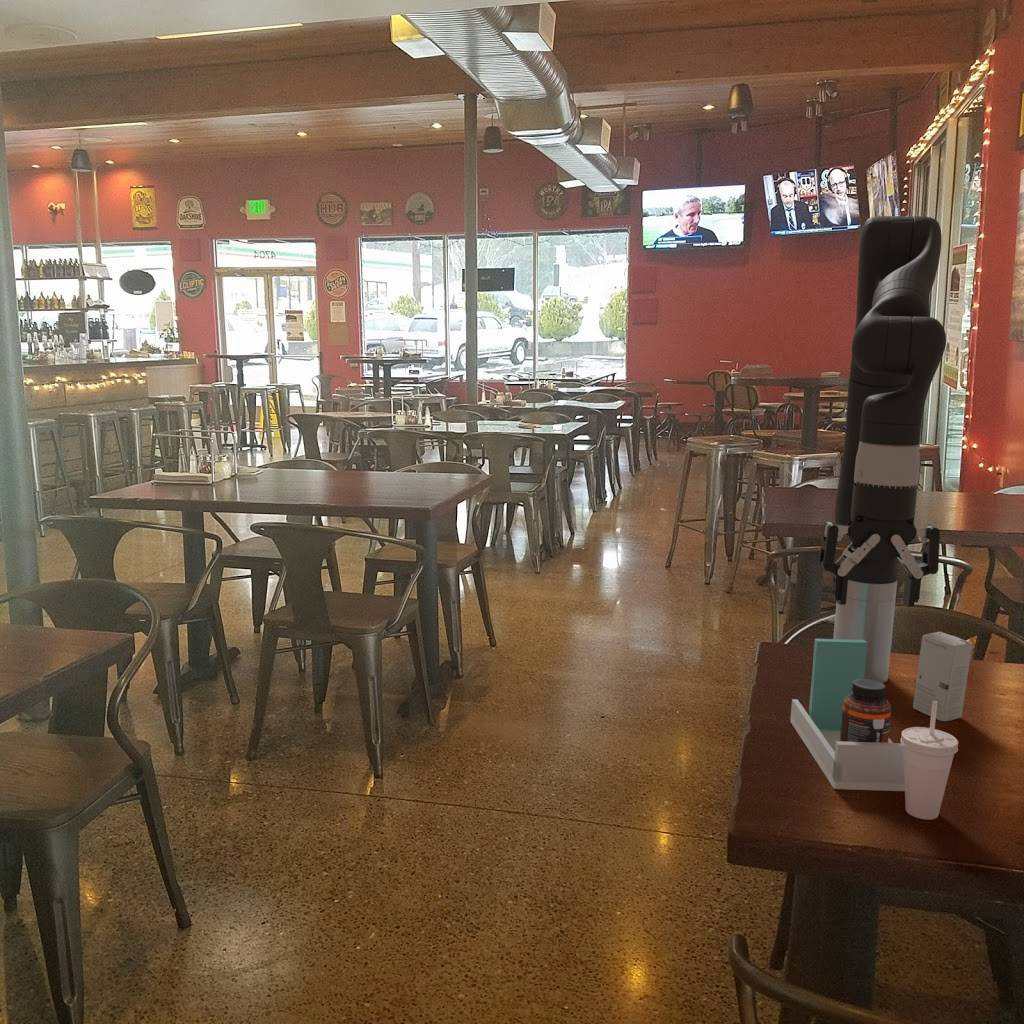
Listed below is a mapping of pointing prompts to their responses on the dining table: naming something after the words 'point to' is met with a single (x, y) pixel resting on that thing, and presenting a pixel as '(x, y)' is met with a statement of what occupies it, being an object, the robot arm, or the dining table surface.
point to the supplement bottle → (866, 713)
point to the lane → (851, 757)
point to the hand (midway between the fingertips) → (874, 604)
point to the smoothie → (926, 767)
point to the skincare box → (942, 675)
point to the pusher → (834, 678)
